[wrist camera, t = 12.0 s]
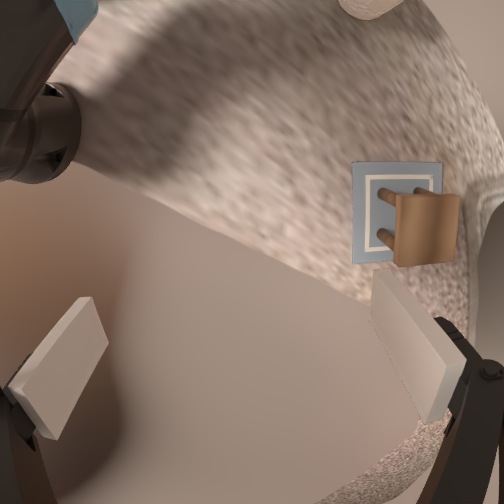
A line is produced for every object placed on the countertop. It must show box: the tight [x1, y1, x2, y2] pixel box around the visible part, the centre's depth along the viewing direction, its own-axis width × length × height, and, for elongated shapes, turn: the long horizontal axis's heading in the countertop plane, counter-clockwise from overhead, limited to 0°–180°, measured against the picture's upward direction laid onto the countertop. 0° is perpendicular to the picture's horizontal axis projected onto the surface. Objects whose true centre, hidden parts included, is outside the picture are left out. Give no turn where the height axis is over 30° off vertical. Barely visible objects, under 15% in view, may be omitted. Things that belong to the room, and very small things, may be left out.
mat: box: [352, 162, 442, 264], centre depth 40 cm, size 14×14×1 cm
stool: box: [376, 187, 460, 267], centre depth 36 cm, size 8×8×9 cm
